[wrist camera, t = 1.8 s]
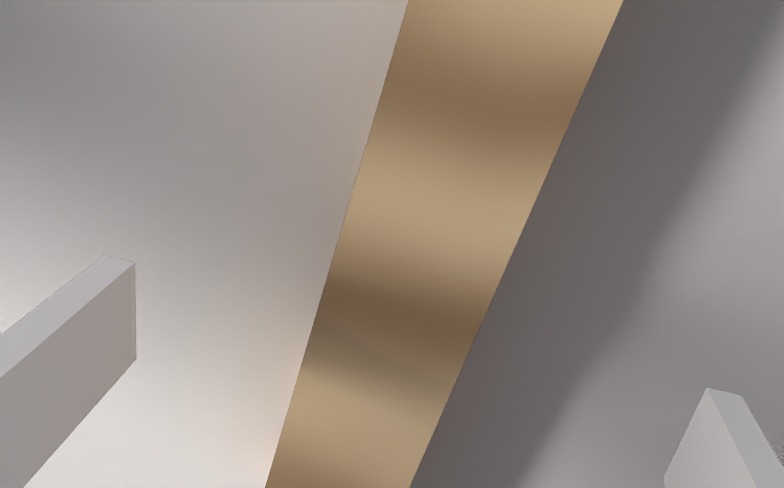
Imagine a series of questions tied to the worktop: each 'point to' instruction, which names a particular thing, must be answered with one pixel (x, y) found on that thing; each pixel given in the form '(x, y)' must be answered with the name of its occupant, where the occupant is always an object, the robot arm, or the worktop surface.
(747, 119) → the worktop surface
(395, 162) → the oak bar
